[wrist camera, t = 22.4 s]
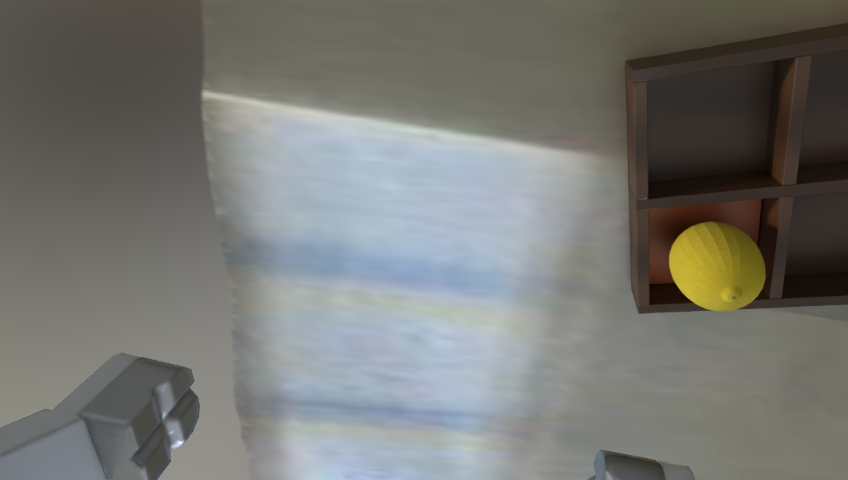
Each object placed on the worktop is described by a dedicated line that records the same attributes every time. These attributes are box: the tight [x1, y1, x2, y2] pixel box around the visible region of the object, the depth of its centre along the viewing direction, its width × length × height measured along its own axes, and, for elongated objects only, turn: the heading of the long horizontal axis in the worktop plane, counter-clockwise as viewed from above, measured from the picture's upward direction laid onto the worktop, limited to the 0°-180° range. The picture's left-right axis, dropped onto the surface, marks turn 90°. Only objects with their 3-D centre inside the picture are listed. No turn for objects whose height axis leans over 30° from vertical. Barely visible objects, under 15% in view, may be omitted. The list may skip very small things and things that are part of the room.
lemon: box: [669, 222, 766, 311], centre depth 35 cm, size 6×6×8 cm
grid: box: [625, 23, 848, 314], centre depth 34 cm, size 18×18×4 cm
